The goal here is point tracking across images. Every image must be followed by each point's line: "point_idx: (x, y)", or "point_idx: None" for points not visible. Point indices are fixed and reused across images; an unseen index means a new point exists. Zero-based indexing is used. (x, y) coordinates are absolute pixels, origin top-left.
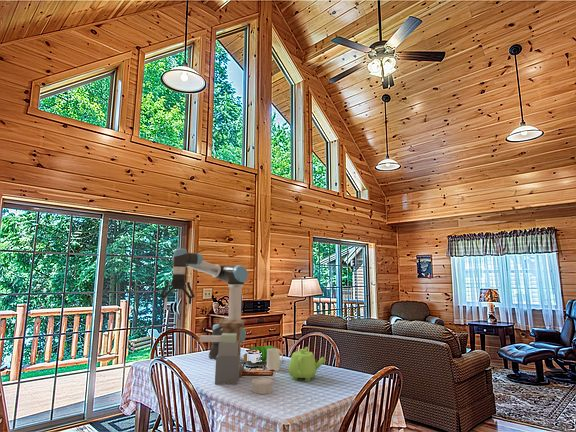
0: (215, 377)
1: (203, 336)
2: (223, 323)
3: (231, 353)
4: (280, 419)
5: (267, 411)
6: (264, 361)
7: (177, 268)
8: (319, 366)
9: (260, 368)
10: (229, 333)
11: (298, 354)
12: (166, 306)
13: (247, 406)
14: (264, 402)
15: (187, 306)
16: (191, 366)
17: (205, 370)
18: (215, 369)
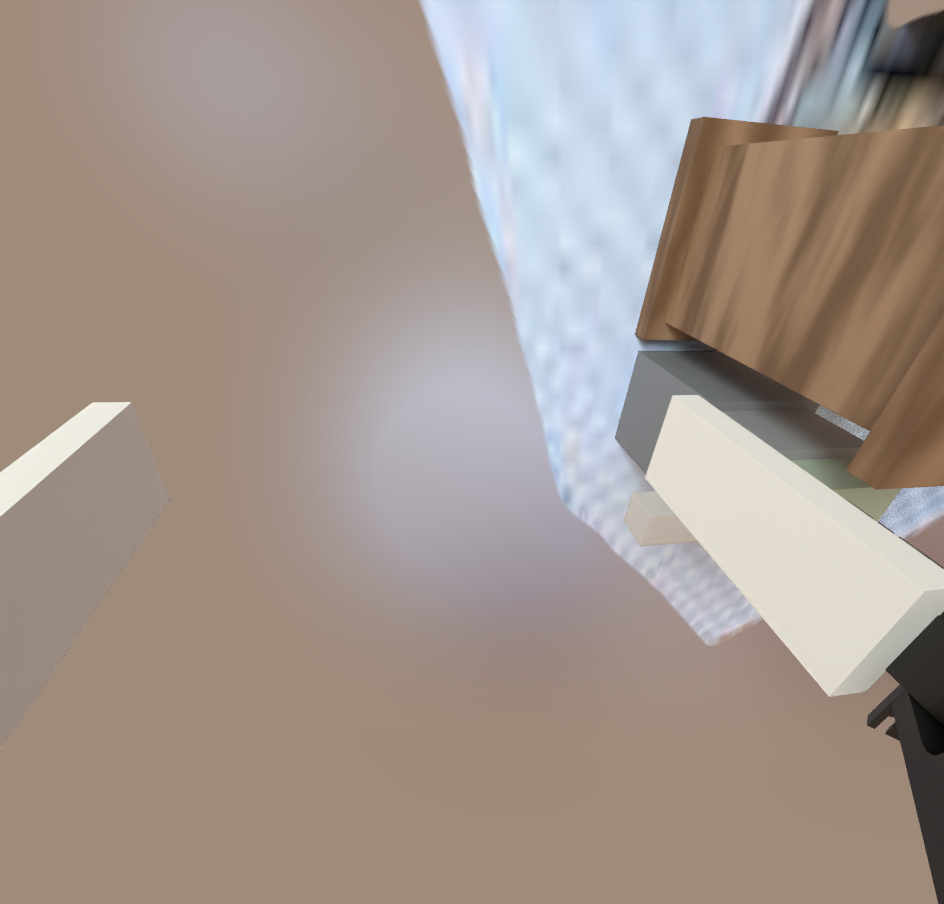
0: (628, 451)
1: (664, 542)
2: (909, 485)
3: None
4: (709, 640)
5: (701, 614)
6: None
7: None
8: None
9: (919, 123)
10: (851, 500)
11: None
12: (95, 449)
13: (668, 596)
14: (716, 572)
15: (689, 520)
16: (493, 7)
17: (592, 169)
18: (642, 469)
